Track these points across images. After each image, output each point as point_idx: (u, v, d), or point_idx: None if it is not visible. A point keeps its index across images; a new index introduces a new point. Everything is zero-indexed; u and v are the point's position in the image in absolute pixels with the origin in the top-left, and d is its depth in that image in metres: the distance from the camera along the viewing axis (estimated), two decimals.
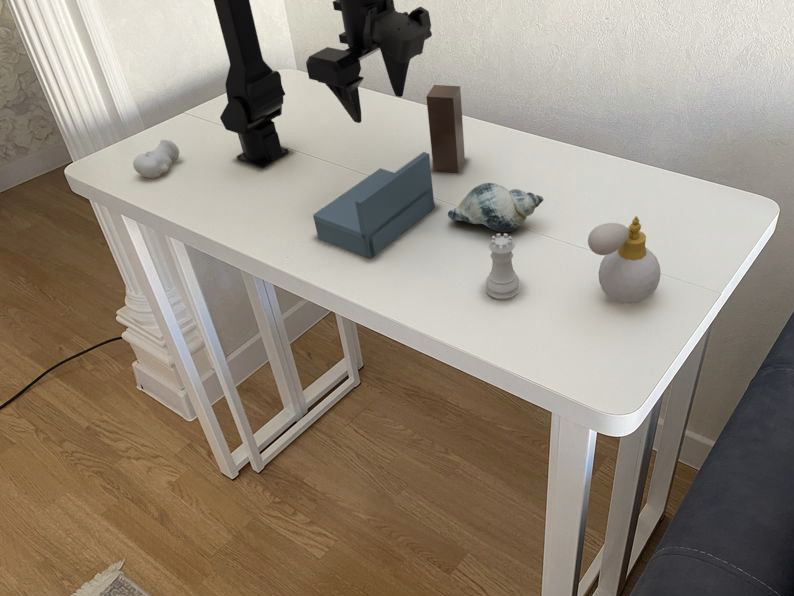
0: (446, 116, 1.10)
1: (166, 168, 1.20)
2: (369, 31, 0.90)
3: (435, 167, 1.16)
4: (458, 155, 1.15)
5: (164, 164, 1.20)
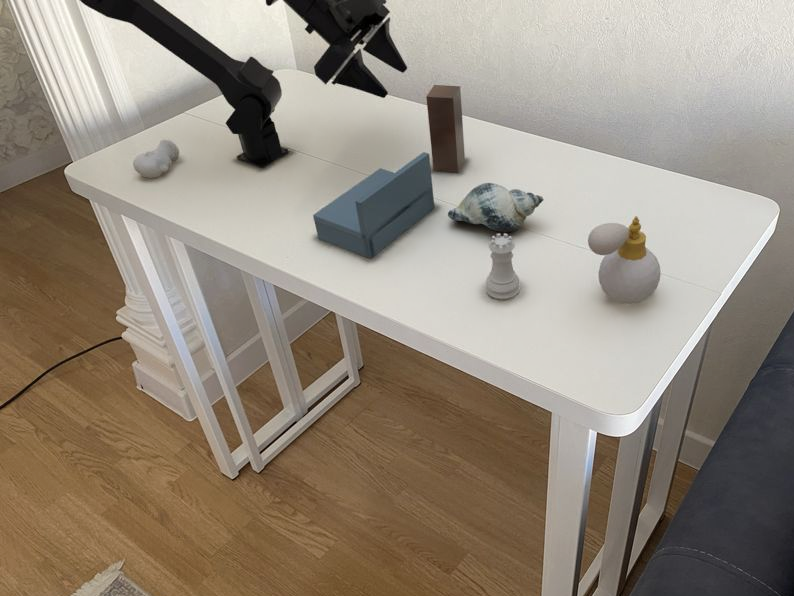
0: (446, 116, 1.10)
1: (166, 168, 1.20)
2: (339, 15, 1.03)
3: (435, 167, 1.16)
4: (458, 155, 1.15)
5: (164, 164, 1.20)
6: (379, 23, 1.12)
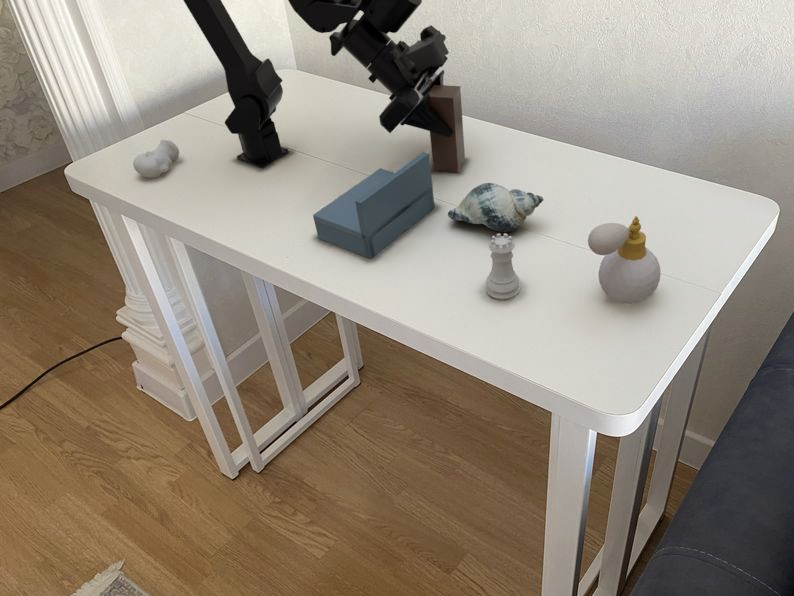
0: (446, 116, 1.10)
1: (166, 168, 1.20)
2: (403, 66, 1.05)
3: (435, 167, 1.16)
4: (458, 155, 1.15)
5: (164, 164, 1.20)
6: (433, 76, 1.13)
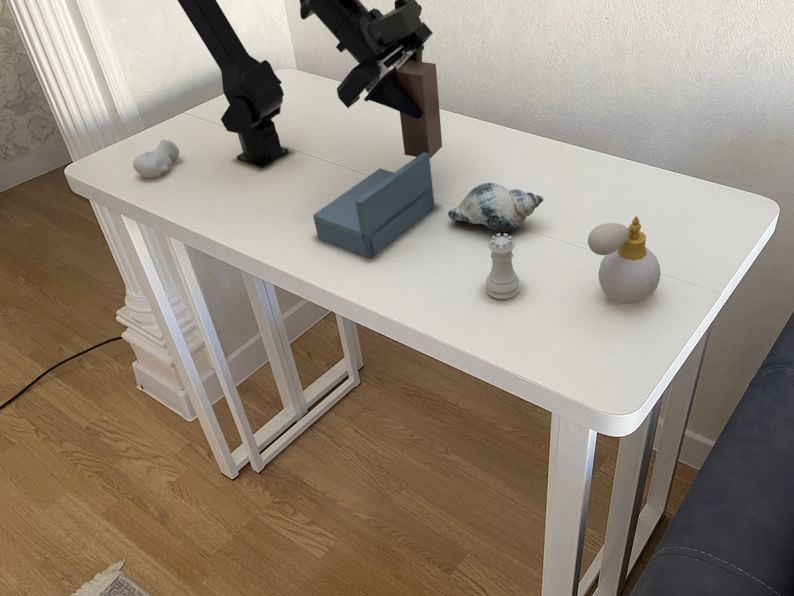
0: (416, 95, 1.00)
1: (166, 168, 1.20)
2: (369, 36, 0.96)
3: (406, 151, 1.07)
4: (430, 140, 1.04)
5: (164, 164, 1.20)
6: (412, 50, 1.03)
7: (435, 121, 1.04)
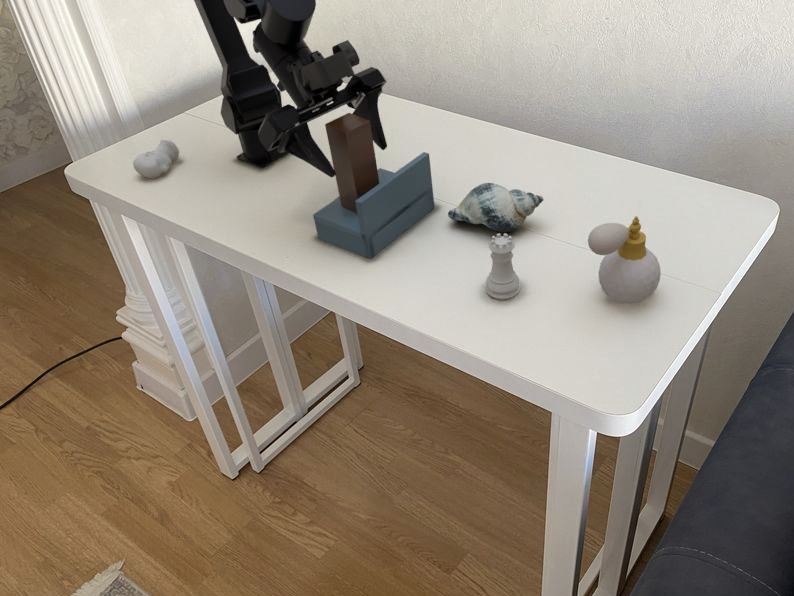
0: (343, 151, 0.95)
1: (166, 168, 1.20)
2: (298, 81, 0.92)
3: (342, 203, 1.02)
4: None
5: (164, 164, 1.20)
6: (369, 91, 0.99)
7: (370, 178, 0.99)
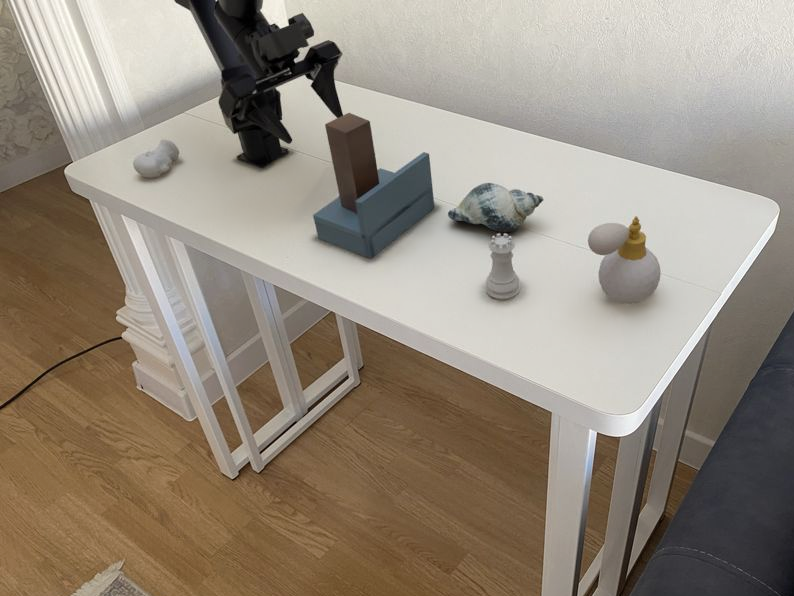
0: (343, 151, 0.95)
1: (166, 168, 1.20)
2: (255, 51, 0.97)
3: (342, 203, 1.02)
4: None
5: (164, 164, 1.20)
6: None
7: (370, 178, 0.99)
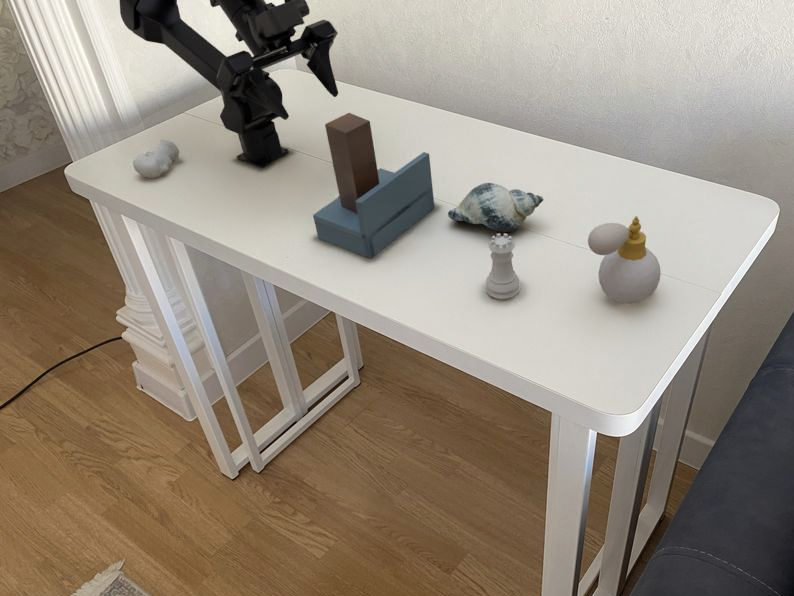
0: (343, 151, 0.95)
1: (166, 168, 1.20)
2: (253, 29, 1.00)
3: (342, 203, 1.02)
4: None
5: (164, 164, 1.20)
6: (321, 42, 1.07)
7: (370, 178, 0.99)
